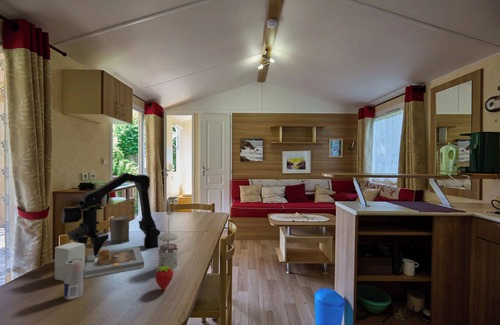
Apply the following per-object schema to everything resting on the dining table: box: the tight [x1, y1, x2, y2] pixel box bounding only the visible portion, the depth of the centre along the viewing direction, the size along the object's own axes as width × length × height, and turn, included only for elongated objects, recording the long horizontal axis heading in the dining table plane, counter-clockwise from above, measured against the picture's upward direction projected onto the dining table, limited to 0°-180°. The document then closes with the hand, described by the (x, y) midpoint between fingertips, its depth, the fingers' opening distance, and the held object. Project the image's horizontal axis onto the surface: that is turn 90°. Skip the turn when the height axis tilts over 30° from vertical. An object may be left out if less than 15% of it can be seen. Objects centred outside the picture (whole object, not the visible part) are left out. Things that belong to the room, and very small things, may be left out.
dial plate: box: [83, 246, 145, 279], centre depth 114 cm, size 22×22×3 cm
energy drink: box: [63, 258, 84, 301], centre depth 86 cm, size 5×5×12 cm
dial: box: [97, 249, 132, 266], centre depth 114 cm, size 14×14×5 cm
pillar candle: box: [109, 215, 130, 245], centre depth 145 cm, size 10×10×15 cm
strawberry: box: [154, 265, 174, 291], centre depth 91 cm, size 6×8×10 cm
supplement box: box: [54, 241, 86, 282], centre depth 100 cm, size 7×7×13 cm
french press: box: [155, 210, 180, 273], centre depth 110 cm, size 10×12×25 cm
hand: (89, 253), depth 115 cm, fingers open, 9 cm apart
